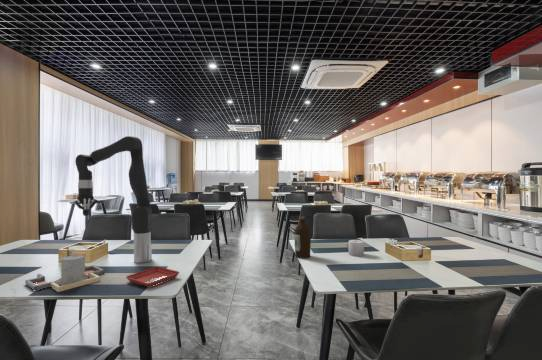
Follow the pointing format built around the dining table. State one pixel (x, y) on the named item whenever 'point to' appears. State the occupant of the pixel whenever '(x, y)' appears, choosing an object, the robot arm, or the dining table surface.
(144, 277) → the plant saucer
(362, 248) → the toilet tissue
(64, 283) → the grey concrete cylinder
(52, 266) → the dining table surface
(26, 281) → the two-trap box
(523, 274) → the dining table surface
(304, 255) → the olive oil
